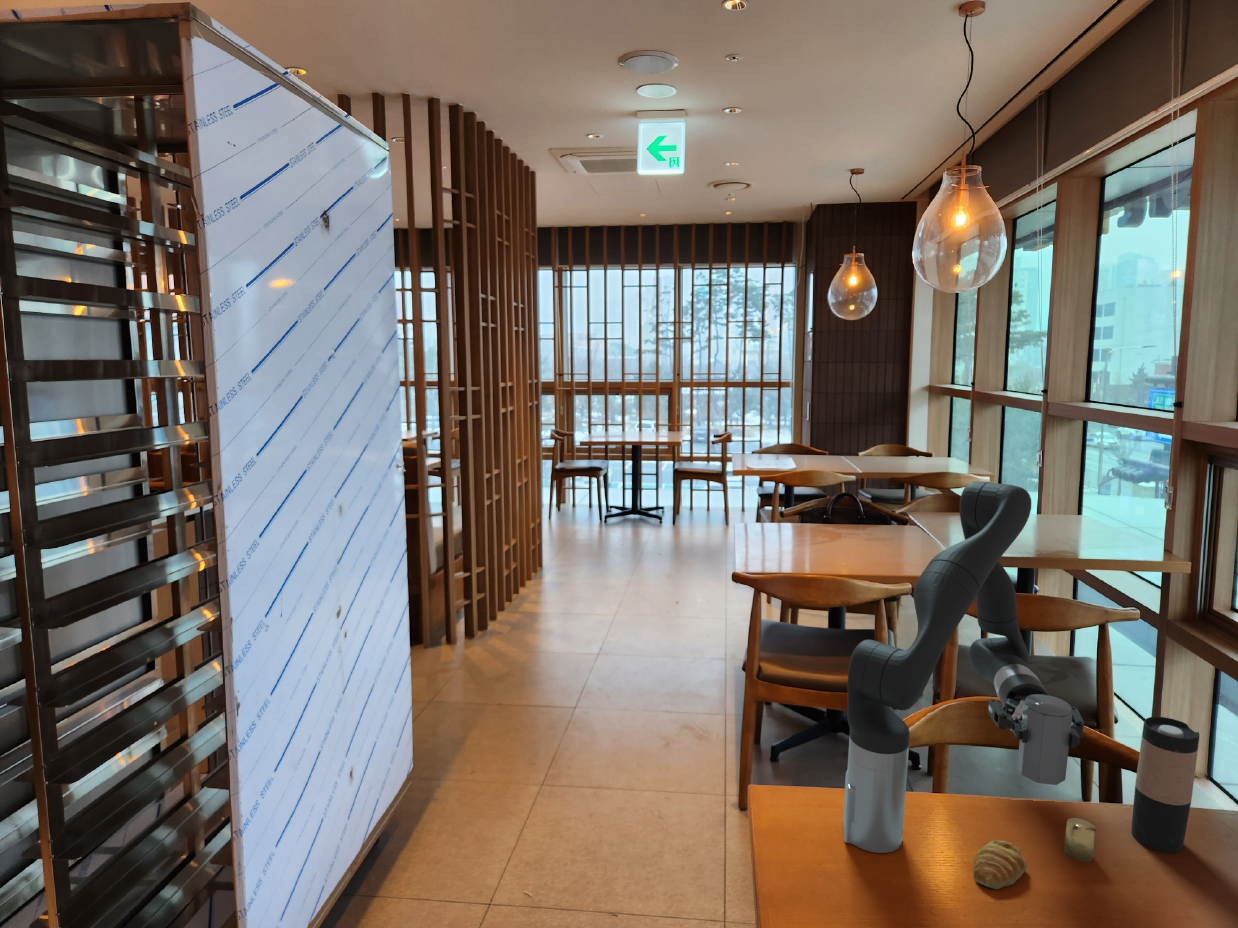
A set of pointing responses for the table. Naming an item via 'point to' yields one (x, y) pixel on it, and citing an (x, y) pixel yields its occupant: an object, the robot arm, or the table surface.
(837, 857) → the table surface
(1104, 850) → the table surface
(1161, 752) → the travel mug
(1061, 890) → the table surface
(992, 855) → the pastry
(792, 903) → the table surface
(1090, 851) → the gold cylinder
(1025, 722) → the canister
